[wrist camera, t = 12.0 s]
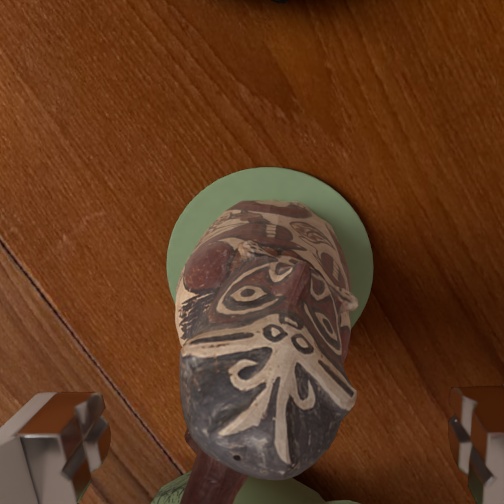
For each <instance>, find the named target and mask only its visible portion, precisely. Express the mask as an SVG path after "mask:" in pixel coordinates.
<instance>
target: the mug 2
mask: <svg viewBox="0 0 504 504" xmlns="http://www.w3.org/2000/svg"><path fill="white" fill-rule="evenodd" d="M191 471H192V470H191ZM191 471H189V472H187V473H186V474H184V475H182V476H180V477H178V478H177V479H175V480H173V481H171V482H169V483H168V484H166V485H164V486H162V487H161V489H160V490H159V492H158V493H157V495H156V496H155V498H154V499H153V501H152V502H151V503H150V504H180V501H181V498H182V495H183V493H184V490H185V487H186V484H187V482H188V479H189V476H190V474H191ZM233 504H360V503H357V502H354V501H351V500H339V501H328V502H325V501H324V500H323V498H322V497H321V496H320V495H319V493H318V492H316V491H314V490H313V489H311V488H309V487H307V486H305V485H304V484H302V483H300V482H298V481H297V480H295V479H293V478H290V479H285V480H264V479H258V478H255V477H252V476H248V478H247V480H246V481H245V483H244V484H243V486H242V487H241V489H240V490H239V492H238V493H237V495H236V497H235V499H234V502H233Z"/></svg>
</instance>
